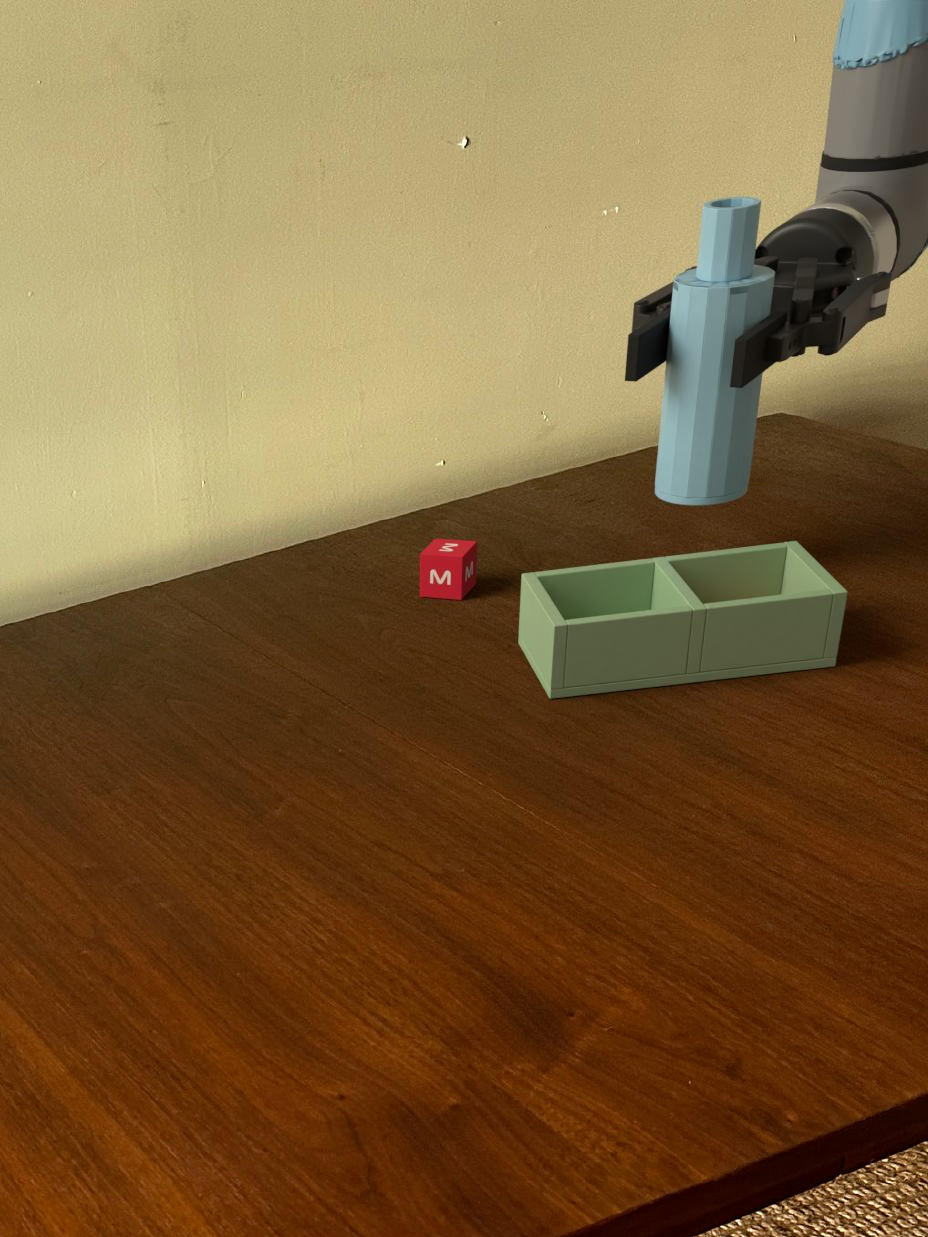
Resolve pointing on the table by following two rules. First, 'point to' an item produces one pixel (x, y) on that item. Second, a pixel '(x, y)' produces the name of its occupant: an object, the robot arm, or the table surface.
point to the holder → (680, 619)
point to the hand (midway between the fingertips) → (684, 360)
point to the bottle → (712, 361)
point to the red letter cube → (448, 569)
